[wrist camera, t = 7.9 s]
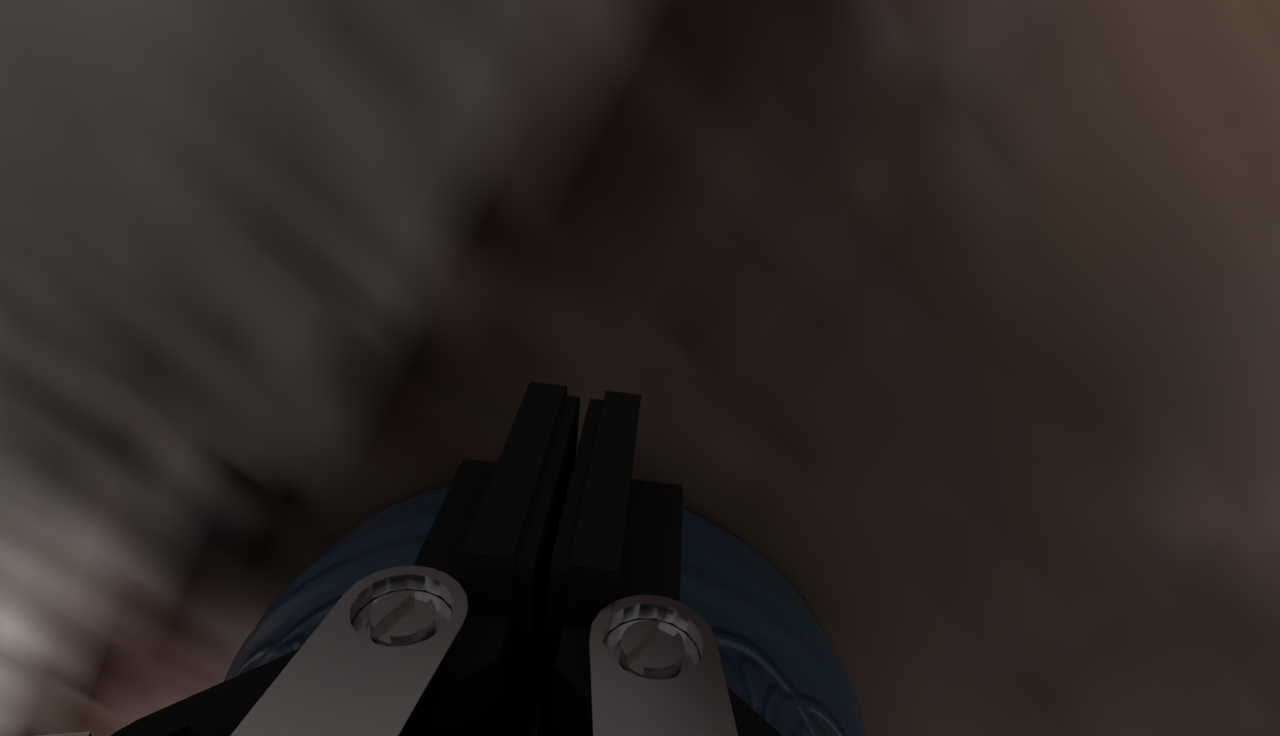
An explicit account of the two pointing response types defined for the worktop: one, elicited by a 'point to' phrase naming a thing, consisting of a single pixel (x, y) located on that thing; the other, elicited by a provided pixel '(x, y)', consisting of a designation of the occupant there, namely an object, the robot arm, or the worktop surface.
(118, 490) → the worktop surface
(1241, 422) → the worktop surface
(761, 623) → the canister
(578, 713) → the robot arm
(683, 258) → the worktop surface
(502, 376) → the worktop surface
